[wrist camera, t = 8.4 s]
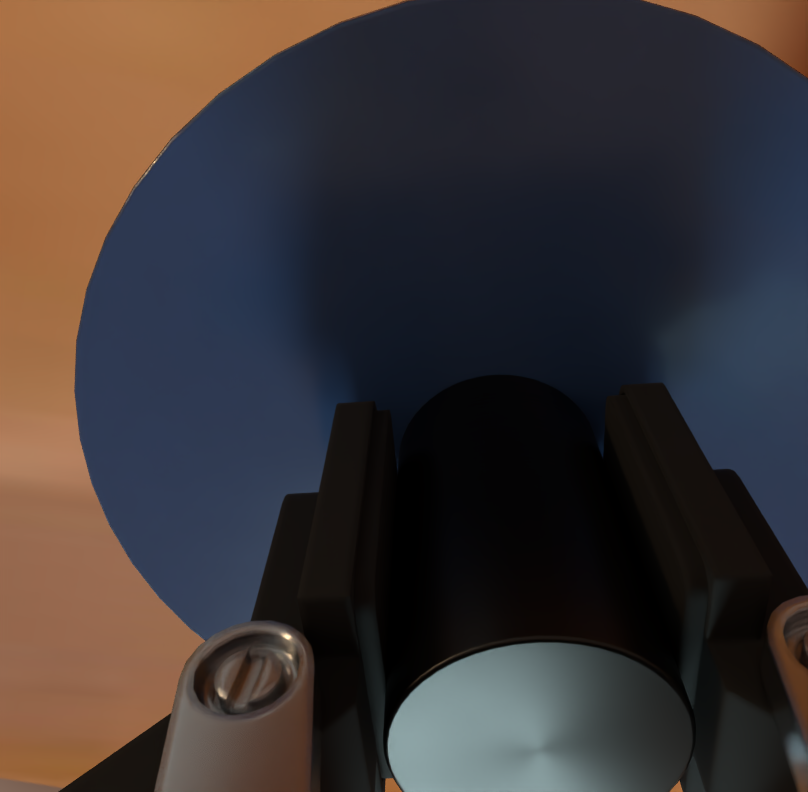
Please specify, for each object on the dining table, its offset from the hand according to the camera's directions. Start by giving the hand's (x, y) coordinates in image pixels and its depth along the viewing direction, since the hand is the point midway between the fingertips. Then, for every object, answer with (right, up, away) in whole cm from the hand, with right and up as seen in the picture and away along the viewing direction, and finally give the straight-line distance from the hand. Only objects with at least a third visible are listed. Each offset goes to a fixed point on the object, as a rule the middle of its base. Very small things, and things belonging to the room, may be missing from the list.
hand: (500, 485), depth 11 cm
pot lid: (0, +1, +1) cm, 1 cm away
